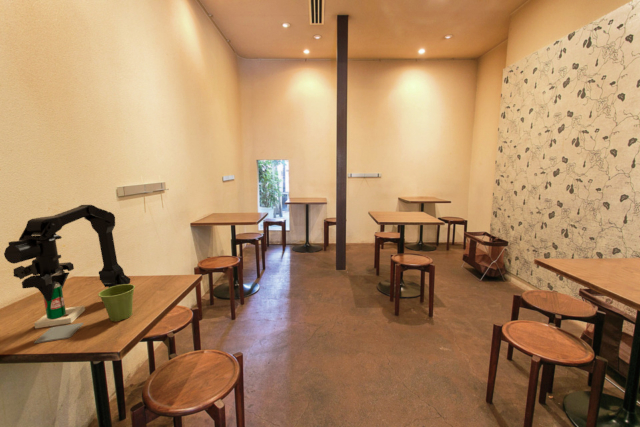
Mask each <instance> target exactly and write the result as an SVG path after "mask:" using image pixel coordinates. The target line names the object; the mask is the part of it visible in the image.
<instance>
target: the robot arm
mask: <svg viewBox="0 0 640 427" xmlns="http://www.w3.org/2000/svg"><path fill="white" fill-rule="evenodd" d="M83 218H84V220H86V221H88V222H89V223H90V225H91V227H92V229H93V230H94V231H95V233H97V238H98V242H99V247H100V253H101V257H102V258H101V259H102V264H103V267H102V269H100V270H98V276H99V281H101V283H102V285H103V286H104V288H110V287H113V286H117V285H123V284H131V278H130V277H129V276H127V275H126V274H125V271H124V269H123V267H122V266H121V265H120V264H119V263H118V259H117V254H116V249H115V248H116V246H115V241H114V237H113V231H114V228H115V226H116V217H115V214H114V213H112V212H111V211H107V210H105V209H102V208H99V207H97V206H95V205H92V204H81V205H79V206H77V207H73V208H71V209H68V210H66V211H62V212H60V213H57V214H54V215H50V216H49V215H48V216H43V217H42V216H41V217H35V218H32V219H31V218H30V219H29V220H28V221H27V223H26V225H25V227H24V229H23V231H22V232H21V235H20V237H19V239H18V240H14V241H8V246H6V248H5V250H4V252H3V255H4V258H5V260H6V261H7V262H9V263H11V264H18V263H22V262H25V261H29V260H32V261H31V264H29V265H26V266H23V265H21V266H18V267H15V268H13V272H12V273H13V277H15V278H17V279H19V280H22V279H23V280H22V282H21V286H22V287H21V288H22V289H31V288H35V289H38V291H39V292H40V293H41V295H42V296H44V297H45V299H46V300H47V301H51V300H52V296H53V292H54V287H55V282H59V283H60V284H61V286H62V289H63V288H64V286H65V283H66V280H67V279H68V276H69V274H70V272H71V271H73V270H74V269H75V267H74V263H72V262H70V261H67V262H60V259H61V258H62V254H58V247H57V240H59V239H60V240H61V239H62V236H61V235H58V234H57V232H60V231H61V230H62V228H63V227H64V226H66V225H68V224H70V223H73V222H75V221H78V220H81V219H83ZM67 271H68V272H67ZM28 276H29V277H28ZM25 277H26V278H25ZM44 297H43V298H44Z"/></svg>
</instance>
